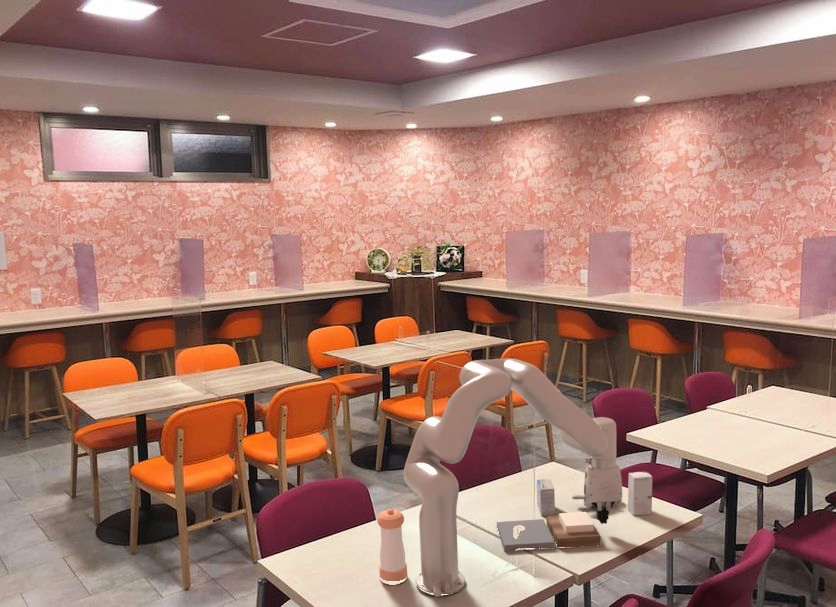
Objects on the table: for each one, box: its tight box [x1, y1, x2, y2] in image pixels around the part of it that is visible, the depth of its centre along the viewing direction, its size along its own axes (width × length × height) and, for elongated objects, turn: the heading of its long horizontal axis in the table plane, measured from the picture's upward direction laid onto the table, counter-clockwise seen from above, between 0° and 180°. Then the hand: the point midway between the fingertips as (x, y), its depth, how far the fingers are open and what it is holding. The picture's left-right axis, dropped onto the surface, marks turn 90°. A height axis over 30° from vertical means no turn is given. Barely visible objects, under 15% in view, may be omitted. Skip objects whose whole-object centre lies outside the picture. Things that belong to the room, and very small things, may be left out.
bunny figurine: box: [571, 494, 618, 510], centre depth 224 cm, size 10×5×15 cm
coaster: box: [558, 511, 595, 533], centre depth 206 cm, size 8×8×2 cm
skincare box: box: [627, 471, 653, 516], centre depth 218 cm, size 6×4×12 cm
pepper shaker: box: [376, 508, 408, 581], centre depth 186 cm, size 7×7×19 cm
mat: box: [496, 519, 555, 553], centre depth 206 cm, size 14×14×2 cm
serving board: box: [546, 514, 601, 548], centre depth 206 cm, size 14×12×3 cm
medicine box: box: [536, 478, 556, 517], centre depth 222 cm, size 8×4×9 cm, turn 179°
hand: (602, 521), depth 206 cm, fingers closed
